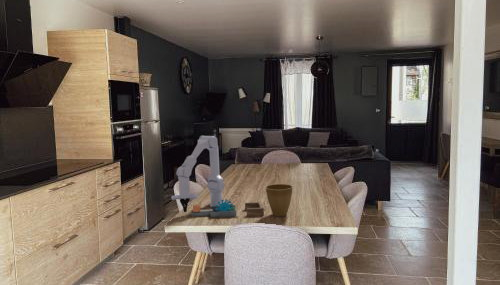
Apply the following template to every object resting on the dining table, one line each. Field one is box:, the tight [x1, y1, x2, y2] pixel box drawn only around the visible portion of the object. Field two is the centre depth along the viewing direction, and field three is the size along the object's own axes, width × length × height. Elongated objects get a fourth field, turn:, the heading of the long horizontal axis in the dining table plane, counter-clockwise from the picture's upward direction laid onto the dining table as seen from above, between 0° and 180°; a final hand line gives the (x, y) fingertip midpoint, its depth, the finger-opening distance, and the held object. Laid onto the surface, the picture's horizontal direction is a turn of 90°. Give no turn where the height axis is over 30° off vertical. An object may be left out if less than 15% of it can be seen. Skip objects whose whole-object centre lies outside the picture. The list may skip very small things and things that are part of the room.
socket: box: [190, 204, 237, 219], centre depth 213 cm, size 14×25×3 cm, turn 95°
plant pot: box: [265, 183, 293, 217], centre depth 209 cm, size 15×15×16 cm
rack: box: [244, 201, 265, 217], centre depth 215 cm, size 14×10×4 cm
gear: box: [215, 198, 236, 212], centre depth 215 cm, size 11×6×10 cm
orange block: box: [192, 204, 214, 213], centre depth 213 cm, size 4×11×5 cm, turn 95°
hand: (185, 211), depth 212 cm, fingers closed
